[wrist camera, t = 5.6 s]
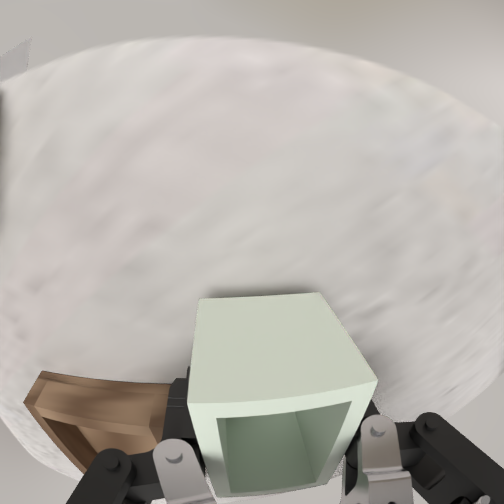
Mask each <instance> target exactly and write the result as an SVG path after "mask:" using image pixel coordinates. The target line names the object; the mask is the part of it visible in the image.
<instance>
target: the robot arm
mask: <svg viewBox="0 0 504 504" xmlns="http://www.w3.org/2000/svg"><path fill="white" fill-rule="evenodd" d="M190 368H191V366H188V369H187V378H176V379H175V381H174V382H173V383H172V385H171V386H170V388H169V394H168V400H167V407H166V413H165V420H164V427H163V434H162V439H161V441H160V443H159V444H158V445H157V446H156V447H155V448H154V449H152V450H150V451H148V452H144V453H138V454H132V455H127V454H126V453H125V452H123V451H122V450H119V449H116V448H108V449H104V450H102V451H101V452H99V453H98V454H97V455H96V457H95V458H94V460H93V461H92V463H91V465H90V466H89V468H88V469H87V471H86V472H85V474H84V476H83V477H82V479H81V480H80V482H79V484H78V485H77V487H76V488H75V490H74V491H73V493H72V495H71V496H70V498H69V499H68V501H67V503H66V504H151V502H152V500H156V499H161V498H165V499H166V502H167V504H217V503H216V501H215V499H214V497H213V495H212V493H211V491H210V489H209V486H208V484H207V482H206V480H205V467H206V466H205V463H204V459H203V456H202V453H201V450H200V447H199V444H198V440H197V437H196V434H195V430H194V427H193V423H192V420H191V416H190V412H189V409H188V405H187V398H188V388H189V377H190ZM412 487H413V488H414V489H415V490H416V491H417V492H418V493H419V494H420V495H421V496H422V497H423V498H424V499H425V500H426V501H427V502H428V503H429V504H504V469H503V468H502V467H501V466H499V465H498V464H497V463H496V462H495V461H493V460H492V459H491V458H490V457H489V456H487V455H486V454H485V453H484V452H483V451H481V450H480V449H479V448H478V447H477V446H475V445H474V444H473V443H472V442H471V441H469V440H468V439H467V438H466V437H465V436H464V435H462V434H461V433H460V432H459V431H458V430H456V429H455V428H454V427H453V426H451V425H450V424H449V423H448V422H447V421H446V420H444V419H443V418H442V417H441V416H440V415H438V414H436V413H432V412H426V413H423V414H421V415H420V416H419V417H418V418H417V419H416V421H415V422H400V423H397V422H393V421H392V420H391V419H390V418H389V417H386V416H384V415H380V413H379V412H378V410H377V408H376V407H375V405H374V403H373V401H372V399H371V400H370V402H369V404H368V407H367V409H366V411H365V413H364V416H363V418H362V420H361V422H360V424H359V426H358V428H357V430H356V432H355V434H354V436H353V438H352V440H351V442H350V444H349V446H348V448H347V450H346V452H345V457H344V459H343V475H342V495H341V501H340V504H414V503H413V492H412Z"/></svg>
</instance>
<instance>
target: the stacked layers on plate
mask: <svg viewBox="0 0 504 504" xmlns="http://www.w3.org/2000/svg"><path fill="white" fill-rule="evenodd" d="M31 40H32V37H30V38H29V39H27V40H25V41H24V42H22V43H20V44H19V45H17V46H16V47H14V48H12V49H11V50H9V51H8V52H6V53H5V54H3V55H2V56H0V82H3V81H6V80H8V79H10V78H12V77H14V76H17V75H20V74H22V73H24V72H27V67H28V59H29V52H30V45H31Z"/></svg>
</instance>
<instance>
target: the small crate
mask: <svg viewBox="0 0 504 504" xmlns="http://www.w3.org/2000/svg"><path fill="white" fill-rule="evenodd" d="M377 383H378V379H377V377H376V376H375V374H374V373H373V371H372V369H371V368H370V366H369V365H368V363H367V362H366V360H365V359H364V357H363V356H362V354H361V353H360V351H359V350H358V348H357V347H356V345H355V344H354V342H353V341H352V339H351V338H350V336H349V335H348V333H347V332H346V330H345V329H344V327H343V326H342V324H341V323H340V321H339V320H338V318H337V317H336V315H335V314H334V312H333V311H332V309H331V308H330V307H329V305H328V304H327V302H326V301H325V299H324V298H323V296H322V295H321V294H320V292H314V293H301V294H287V295H271V296H253V297H231V298H204V299H199V302H198V309H197V317H196V325H195V333H194V341H193V349H192V358H191V368H190V377H189V388H188V398H187V405H188V409H189V412H190V416H191V420H192V423H193V427H194V430H195V434H196V437H197V440H198V444H199V447H200V450H201V453H202V456H203V459H204V463H205V466H206V468H207V471H208V474H209V477H210V480H211V483H212V485H213V488H214V491H215V494H216V496H217V497H244V496H257V495H267V494H275V493H282V492H289V491H295V490H301V489H306V488H311V487H316V486H320V485H324V484H327V483H328V481H329V480H330V478H331V476H332V475H333V473H334V471H335V470H336V468H337V466H338V464H339V463H340V461H341V459H342V457H343V455H344V454H345V452H346V450H347V448H348V446H349V444H350V442H351V440H352V438H353V436H354V434H355V432H356V430H357V428H358V426H359V424H360V422H361V420H362V418H363V416H364V413H365V411H366V409H367V407H368V404H369V402H370V400H371V397H372V395H373V393H374V390H375V388H376V385H377Z"/></svg>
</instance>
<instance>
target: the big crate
mask: <svg viewBox="0 0 504 504" xmlns="http://www.w3.org/2000/svg"><path fill="white" fill-rule="evenodd" d="M171 385H172V384H149V383H131V382H118V381H107V380H97V379H89V378H82V377H75V376H68V375H62V374H56V373H51V372H45V371H41V373H40V375H39V376H38V378H37V380H36V381H35V383H34V385H33V386H32V388H31V390H30V391H29V393H28V395H27V397H26V398H25V400H24V402H23V403H24V404H25V406H26V407H27V408H28V410H29V411H30V413H31V414H32V415H33V417H34V418H35V420H36V421H37V422H38V423H39V425H40V426H41V427H42V429H43V430H44V431H45V432H46V434H47V435H48V436H49V437H50V438H51V440H52V441H53V442H54V443H55V444H56V445H57V447H58V448H59V449H60V450H61V451H62V452H63V453H64V454H65V455H66V457H67V458H68V459H69V460H70V461H71V462H72V463H73V464H74V465H75V466H76V467H77V468H78V469H79V470H80V471H81V472H82V473H83V474H85V472H86V471H87V469H88V468H89V466H90V465H91V463H92V461H93V460H94V458H95V457H96V455H97V454H98V453H99V452H101V451H102V450H104V449H108V448H116V449H119V450H122V451H123V452H125V453H126V454H127V455H132V454H138V453H144V452H148V451H150V450H152V449H154V448H155V447H156V446H157V445H158V444H159V443H160V441H161V439H162V434H163V427H164V420H165V413H166V407H167V400H168V394H169V388H170V386H171Z"/></svg>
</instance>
